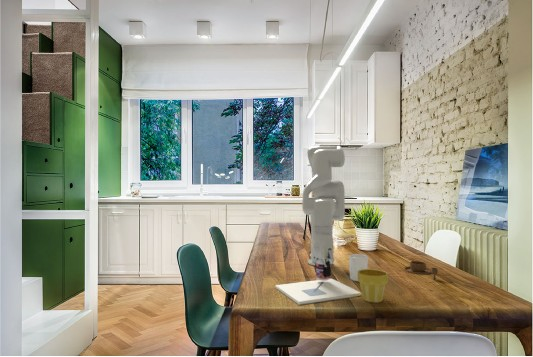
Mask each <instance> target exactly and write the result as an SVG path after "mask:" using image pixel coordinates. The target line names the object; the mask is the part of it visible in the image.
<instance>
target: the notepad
mask: <svg viewBox="0 0 533 357" xmlns="http://www.w3.org/2000/svg"><path fill="white" fill-rule="evenodd" d="M274 285H275V284H274ZM274 288H275V289H276V290H277V291H279V292H280V293H282V294H283V295H284V296H285V297H287V298H288V299H290V300H291V301H293V302H294V303H295V304H296V305H299V306H300V305H306V304H312V303H313V304H314V303H319V302H320V303H321V302H327V301H333V300H339V299H340V300H341V299H347V298H354V297H355V298H356V297H359V296H361V297H362V291H361V292H360V291H358V290H356V289H354V288H353V287H350V286H348V285H346V284H344V283H342V282H340V281H338V280H336V279H333V278H329V280H326V281H322V280H318V279H316V280H307V281H300V282H292V283H283V284H276V285H275V286H274Z"/></svg>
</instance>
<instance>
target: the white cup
mask: <svg viewBox="0 0 533 357" xmlns="http://www.w3.org/2000/svg"><path fill="white" fill-rule="evenodd" d="M368 258H369V256H368V255H366V254H360V253H359V254H357V253H351V254H349V255H348V268H349V269H348V270H349V279H350V280H351V281H354V282H359V281H358V271H359V270H362V269H368V263H369V262H368V261H369V260H368Z"/></svg>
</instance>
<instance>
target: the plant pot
mask: <svg viewBox="0 0 533 357" xmlns="http://www.w3.org/2000/svg"><path fill="white" fill-rule="evenodd" d="M357 282H359V285H360V286H359V287H360V291H361V297H362V299H363V301H365V302H367V303H368V302H369V303H381V302H382V301H383V298H384V295H385V291H386V290H385V289H386V285H387V284H388V283H389V273H388V272H387V271H385V270H380V269H375V268H374V269H373V268H367V269H362V270H359V271H358V281H357Z"/></svg>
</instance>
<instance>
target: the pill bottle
mask: <svg viewBox="0 0 533 357" xmlns="http://www.w3.org/2000/svg"><path fill="white" fill-rule="evenodd" d="M327 258H328V257H327ZM327 258H326V259H327ZM327 261H328V260H326V263H327ZM323 267H324V261H323V260H322V259H319V258H318V260H317V261H316V272H315V279H316V280H322V281H326V280H329V279H330V276H328V277H324V276H323Z"/></svg>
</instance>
